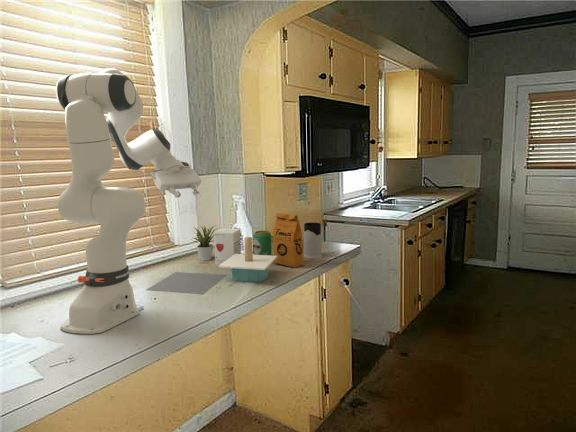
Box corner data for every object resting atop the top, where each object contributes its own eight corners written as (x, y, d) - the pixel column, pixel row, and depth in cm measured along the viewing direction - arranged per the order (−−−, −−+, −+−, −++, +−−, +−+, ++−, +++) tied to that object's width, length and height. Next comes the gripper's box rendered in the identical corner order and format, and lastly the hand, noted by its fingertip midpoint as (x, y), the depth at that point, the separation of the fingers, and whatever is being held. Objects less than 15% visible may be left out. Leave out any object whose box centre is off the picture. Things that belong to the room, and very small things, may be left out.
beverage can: (250, 258, 191) (249, 232, 189) (264, 254, 196) (263, 229, 194) (261, 261, 185) (260, 234, 183) (275, 258, 190) (274, 232, 188)
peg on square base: (264, 270, 151) (264, 244, 150) (218, 267, 156) (217, 242, 154) (277, 257, 169) (276, 233, 167) (235, 255, 173) (234, 232, 171)
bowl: (261, 283, 155) (261, 268, 154) (226, 281, 158) (225, 266, 157) (271, 272, 168) (271, 258, 167) (238, 270, 171) (238, 256, 170)
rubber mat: (203, 295, 143) (203, 294, 143) (145, 291, 148) (145, 290, 148) (226, 276, 164) (226, 275, 164) (175, 273, 169) (175, 271, 169)
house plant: (227, 255, 197) (226, 220, 194) (219, 263, 183) (218, 226, 180) (197, 254, 198) (196, 220, 195) (188, 262, 184) (186, 226, 182)
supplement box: (214, 266, 179) (213, 231, 176) (222, 260, 187) (221, 227, 185) (234, 267, 177) (233, 232, 174) (241, 261, 185) (240, 228, 183)
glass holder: (299, 256, 192) (299, 224, 190) (314, 250, 204) (314, 219, 201) (316, 259, 187) (316, 226, 185) (330, 252, 199) (331, 221, 196)
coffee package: (292, 269, 172) (292, 217, 168) (270, 264, 180) (269, 214, 176) (307, 264, 180) (307, 213, 176) (285, 259, 188) (284, 211, 184)
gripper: (151, 164, 156) (170, 192, 152) (192, 163, 173) (210, 187, 169) (144, 176, 159) (163, 203, 155) (185, 173, 176) (203, 198, 172)
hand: (188, 195), depth 162 cm, fingers open, 8 cm apart
